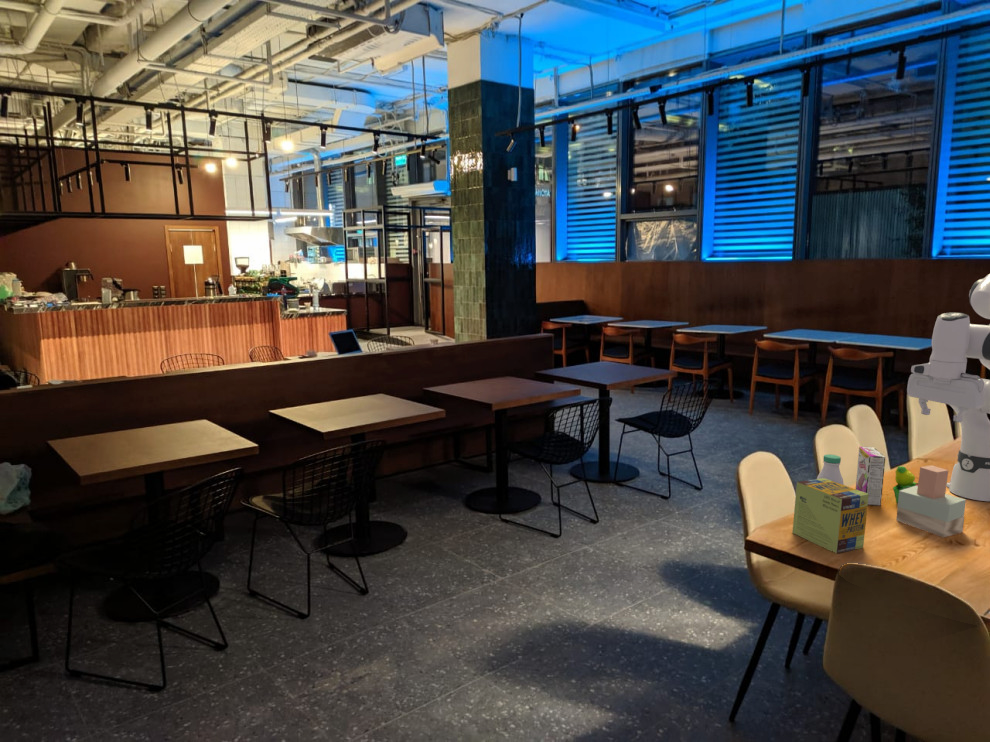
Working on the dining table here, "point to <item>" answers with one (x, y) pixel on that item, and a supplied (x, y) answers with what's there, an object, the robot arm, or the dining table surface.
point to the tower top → (932, 504)
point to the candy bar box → (870, 474)
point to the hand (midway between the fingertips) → (941, 418)
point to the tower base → (930, 523)
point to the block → (932, 482)
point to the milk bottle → (831, 469)
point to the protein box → (830, 514)
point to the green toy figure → (903, 480)
